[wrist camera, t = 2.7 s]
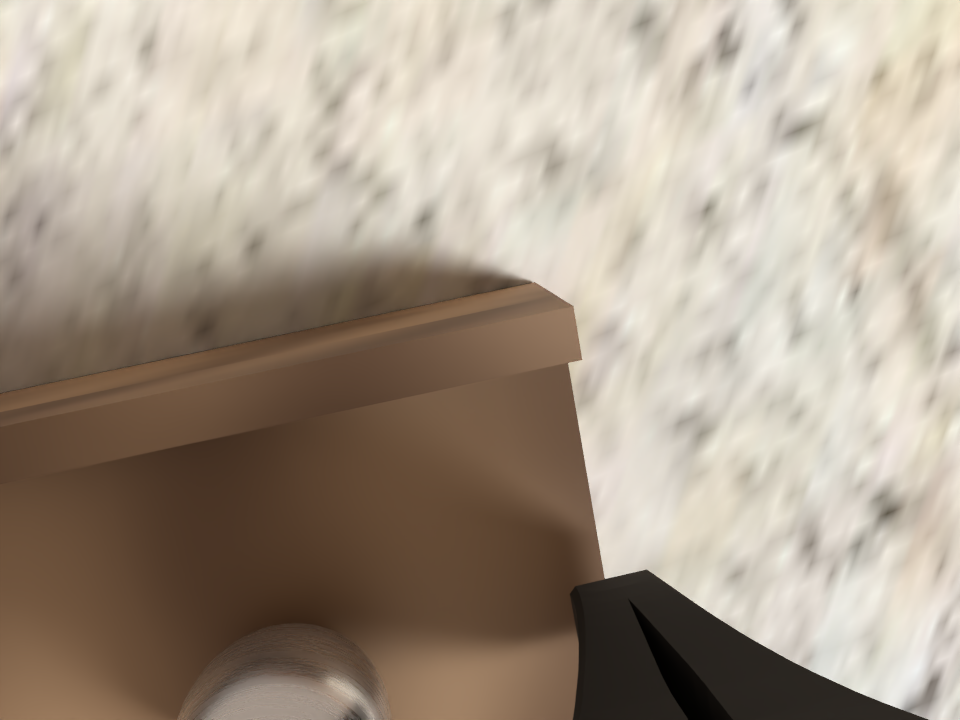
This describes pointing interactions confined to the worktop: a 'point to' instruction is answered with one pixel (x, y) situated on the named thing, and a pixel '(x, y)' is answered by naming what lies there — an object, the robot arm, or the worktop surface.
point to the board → (306, 514)
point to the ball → (289, 679)
